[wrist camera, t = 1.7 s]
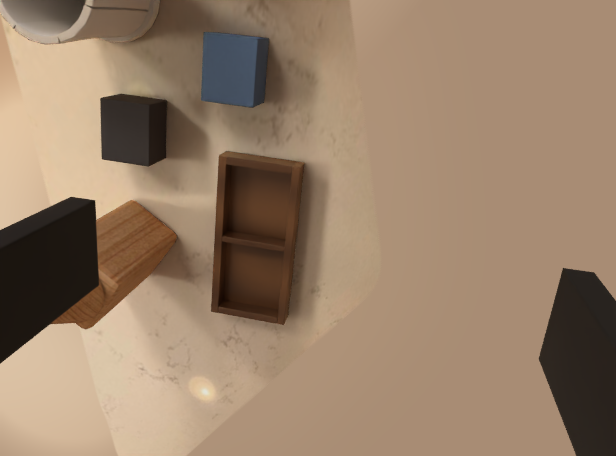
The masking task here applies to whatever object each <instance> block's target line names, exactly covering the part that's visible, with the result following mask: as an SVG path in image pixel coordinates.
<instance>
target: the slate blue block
mask: <svg viewBox="0 0 616 456" xmlns="http://www.w3.org/2000/svg"><path fill="white" fill-rule="evenodd" d="M268 45H269V38H263V37H254V36H246V35H237V34H229V33H220V32H204V37H203V63H202V89H201V101H207V102H214V103H222V104H229V105H237V106H244V107H251V108H253V107H255V106H258V105H260V104H262V103H264V97H265V84H266V71H267V58H268Z"/></svg>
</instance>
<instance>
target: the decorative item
mask: <svg viewBox="0 0 616 456" xmlns="http://www.w3.org/2000/svg"><path fill="white" fill-rule="evenodd" d="M96 230H97V251H98V271H99V286H98V287H96V288H95V289H94V290H92V291H91V292H90V293H89V294H87V295H86V296H85V297H84V298H82V299H81V300H80V301H79V302H77V303H76V304H75V305H74V306H72V307H71V308H70V309H68V310H67V311H66V312H65V313H63V314H62V315H61V316H60V317H58V318H57V319H56V320H55V321H53V322H52V323H51V324H63V323H76V324H77V325H79V326H80V327H81V328H83V329H88V328H90V327H93V326H94V325H95V324H96V323H97V322H98V321H99V320H100V319H101V318H103V317H104V316H105V315H106V314H107V313H108V312H109V311H110V310H111V309H113V308H114V307H115V306H116V305H117V304H118V303H119V302H120V301H121V300H123V299H124V298H125V297H126V296H127V295H128V294H129V293H130V292H131V291H132V290H134V289H135V288H136V287H137V286H138V285H139V284H140V283H141V282H142V281H144V280H145V279H146V278H147V277H148V276H149V275H150V274H151V273H152V272H153V270H154V269H155V268H156V266H157V265H158V264H159V263H160V261H161V260H162V259H163V257H164V256H165V255H166V253H167V252H168V251H169V250H170V248H171V247H172V246H173V244H174V243H175V242H176V238H177V236H176V234H175V233H174V232H173V231H172V230H170V229H169V228H168V227H167V226H165V225H164V224H163V223H162V222H161V221H159V220H158V219H157V218H156V217H154V216H153V215H152V214H151V213H150V212H148V211H147V210H146V209H145V208H143V207H142V206H141V205H140V204H138V203H137V202H136V201H133V200H130V201H129V202H127V203H125V204H123V205H122V206H120V207H118V208H116V209H115V210H113V211H111V212H109V213H108V214H106V215H104V216H102V217H101V218H99V219H97V220H96Z"/></svg>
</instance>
